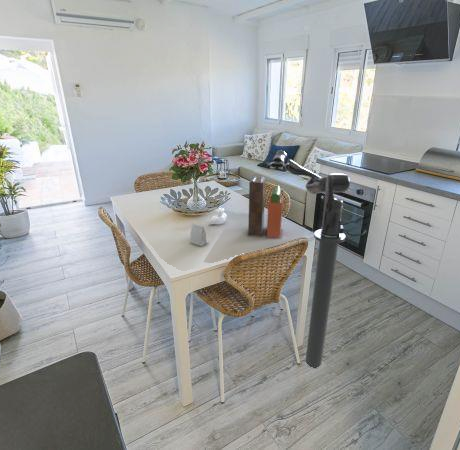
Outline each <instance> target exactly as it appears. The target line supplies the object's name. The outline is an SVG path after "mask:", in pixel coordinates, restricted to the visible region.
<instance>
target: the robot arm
mask: <svg viewBox="0 0 460 450" xmlns="http://www.w3.org/2000/svg"><path fill="white" fill-rule="evenodd" d="M287 157H288V155H287V153H286V152H285V151H284V150H282V149H280V150H278V151H277V152H276V154H275V155H274V156H273V158H272V161H271V162H269V161H266V162H265V163H264V168H265V169H268V170H270V169H273V170H275V171H280V170H283V171H284V170H286V171H287V172H289V173H290V174H292V175H295V176H302V177H303V176H304V177H307V178H309V180H308V181H307V182H306V184H305V188H306V190H307V192H308V193H310V194H312V195H318V194H320V193H321V194H322V193H323V194H324V203H323V204H324V206H323V212H322V213H323V214H322V221H321V226H320V229H321V235H322V236H324V237H327V238H339V235H340V233H341V234H344V232H346V234H347V235H349V236H354V237H359V236H364V235H365V234H366V233H367V229H365V230H364V231H363V233H359V234H357V233H356V234H353V233H350V232H349V230H348V229H346V228H345V227H344V225H343V224H342V216H343V215H342V214H343V208H344V207H343V206H344V199H342V198H341V197H338V196H335V194H334V193H345V192H347V191H348V190H349V188H350V185H351V179H350V177H349V176H348V175H347V174H344V173H330V174H329V173H328V175H326V176H320V175H318V174H316V173H314V172H313V171H311V170H309V169H307V168H304V167H303V166H301V165H300V164H298V163H297V162H295V161H294V160H292V159H290V158H288V159H287V160H286V158H287ZM285 160H286V161H285Z"/></svg>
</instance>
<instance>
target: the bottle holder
mask: <svg viewBox="0 0 460 450" xmlns="http://www.w3.org/2000/svg"><path fill="white" fill-rule="evenodd" d="M267 202H268V203H267V221H266V223H267V224H266V237H267V238H276V239H277V238H278V239H280V238H281V231H282V218H283V204H284V196H282V195H281V196H280V200H279V202H277V203H274V202H272V201H271V195H270V196H269V199H268V201H267Z"/></svg>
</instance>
